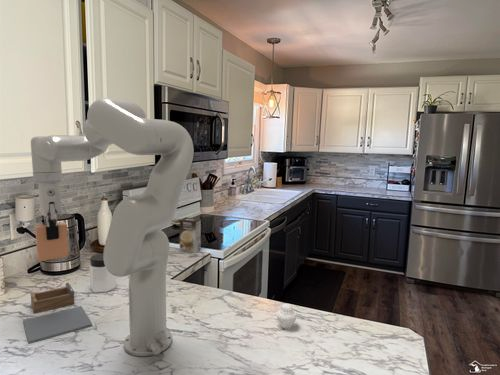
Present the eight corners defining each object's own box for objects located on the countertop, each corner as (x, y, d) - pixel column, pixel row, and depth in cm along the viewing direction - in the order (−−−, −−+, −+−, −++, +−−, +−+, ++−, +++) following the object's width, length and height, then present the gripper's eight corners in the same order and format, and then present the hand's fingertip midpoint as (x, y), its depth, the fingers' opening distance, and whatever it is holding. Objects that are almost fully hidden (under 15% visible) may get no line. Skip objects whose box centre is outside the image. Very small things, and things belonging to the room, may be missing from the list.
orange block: (68, 256, 109) (66, 224, 108) (38, 261, 105) (36, 228, 103) (66, 253, 112) (64, 222, 111) (37, 257, 108) (35, 225, 107)
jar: (118, 289, 129) (117, 257, 128) (95, 295, 124) (94, 262, 123) (110, 281, 136) (109, 251, 135) (88, 286, 131) (87, 255, 130)
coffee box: (178, 251, 176) (178, 219, 174) (184, 247, 182) (184, 217, 180) (195, 253, 173) (195, 221, 171) (201, 249, 179) (201, 218, 177)
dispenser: (75, 304, 117) (74, 290, 116) (34, 313, 110) (33, 299, 109) (69, 295, 124) (69, 282, 123) (31, 303, 117) (30, 290, 116)
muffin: (279, 332, 103) (279, 309, 102) (273, 321, 109) (274, 300, 108) (299, 330, 104) (300, 308, 103) (292, 320, 110) (293, 298, 109)
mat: (92, 325, 104) (92, 324, 104) (28, 343, 94) (28, 341, 94) (81, 307, 115) (81, 305, 115) (23, 322, 105) (23, 320, 105)
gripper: (66, 179, 101) (70, 241, 103) (57, 175, 114) (61, 230, 117) (36, 181, 97) (40, 245, 99) (30, 176, 110) (34, 233, 112)
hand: (51, 236), depth 108 cm, fingers closed on orange block, 4 cm apart
